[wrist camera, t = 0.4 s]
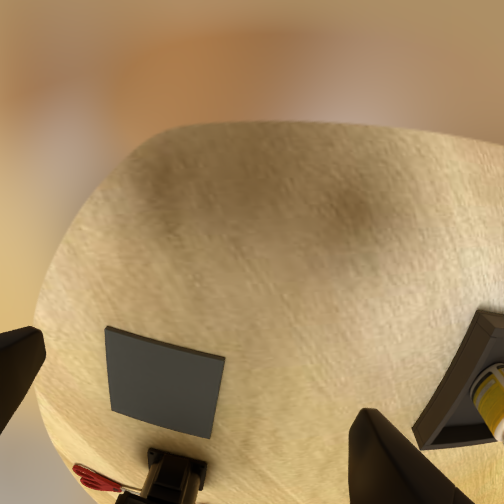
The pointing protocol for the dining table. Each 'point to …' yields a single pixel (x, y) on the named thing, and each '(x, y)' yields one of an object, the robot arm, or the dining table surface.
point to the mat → (162, 382)
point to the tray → (462, 390)
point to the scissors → (97, 481)
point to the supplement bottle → (490, 398)
